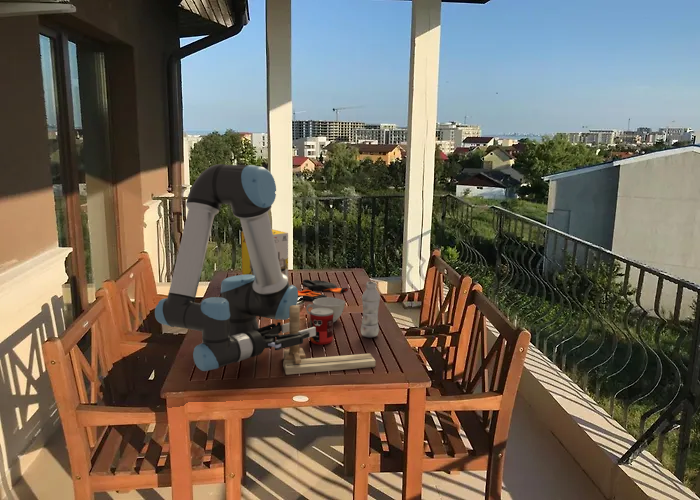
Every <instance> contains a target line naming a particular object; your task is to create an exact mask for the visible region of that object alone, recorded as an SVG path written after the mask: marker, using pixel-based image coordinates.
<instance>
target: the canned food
mask: <svg viewBox="0 0 700 500" xmlns="http://www.w3.org/2000/svg"><path fill="white" fill-rule="evenodd" d="M309 312H310V314H309V315H310V316H309V328H312V327H316V336H312V337H309V339H310V342H311V343H312V344H314V345H320V346H321V345H322V346H323V345H329V344H331V343H332V342H333V340H334V337H333V336H334V322H333V310H331V309H328V308H315V309H313V308H312V309H311V310H310V311H309Z"/></svg>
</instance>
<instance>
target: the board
mask: <svg viewBox="0 0 700 500" xmlns="http://www.w3.org/2000/svg"><path fill="white" fill-rule="evenodd" d="M282 363H283V369H284V373H285V375H295V374H296V375H298V374H308V373H318V372H321V373H322V372H333V371H341V370H354V369H366V368H374V367H376V363H377V361H376V360H375V358H374V357H373V355H372V354H371V353H361V354H360V353H357V354H349V355H347V354H345V355H334V356H322V357H321V356H320V357H310V358H305V359H301V363H299V364H296V362H295V360H283V361H282Z"/></svg>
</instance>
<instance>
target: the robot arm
mask: <svg viewBox="0 0 700 500" xmlns="http://www.w3.org/2000/svg"><path fill="white" fill-rule="evenodd" d="M276 192H277V185H276V181H275V178H274V176H273V174H272V172H271V171H269V170H268V168H265V167H264V166H259V165H254V164H248V165H246V164H245V165H243V164H240V165H239V164H225V163H223V164H221V163H219V164H218V163H217V164H214V165H210V166H209V167H207V168H206V169H204V171H202V172H201V173H200V174H199V176H198V177H197V178H196V180H195V181H194V182H193V185H192V186H191V188H190V190H189V193H188V195H187V199H186V203H185V206H186V208H187V215H186V217H185V218H186V219H185V223H184V228H183V231H182V236H181V241H180V242H179V243H180V244H179V249H178V252H177V258H176V260H175V266H174V270H173V274H172V278H171V282H170V285H169V290H168V294H167V297H166V298H161V299H160V300H159V301H158V303H157V304H156V306H155V308H154V317H155V319H156V321H157V322H158V323H159V324H161V325H165V326H168V327H170V328H174V327H175V328H180V329H188V330H192V331H197V332H201V335H202V337H201V339H202V340H201V341H202V342H201V343H199V344H197V345H195V347H194V348H193V352H192V356H193V362H194V364H195V366H196V367H197V368H198V369H199V370H200V371H202V372H207V371H211V370H217V369H219V368H222V367H224V366H228V365H230V364H235V363H240V361H244V360H247V359H249V358H254V357H257V356H260V355H261V354H262V353H263V352H264V350H265V349H270V348H274V350H275V351H280V350H282V349H287V348H289V347H290V346H295V345H299V344H300V345H303V344H304V340H305V339H310V337H312V336H316V327H312V328H310V327H309V328H305V329H302V330H300V331H298V333H293V334H289V322H286V323H282V322H280V321H287V320H289V307H290V306H292V305H297V304H298V300H299V299H298V287H296V286H295V285H293V284H291V285H290V283H289V277H288V278H287V276H286V275H285V274H283V273H281V268H280V264H279V259H278V255H277V250H276V246H275V241H274V237H273V233H272V229H273V228H272V224H271V219H270V216H269V212H270V210H272V206H273V205H274V202H275V200H276V197H277V194H276ZM222 205H230V208H231V210H232V211H231V212H232V214H233V216H234V217H236V218H237V219H239V221H240V225H241V229H242V231H243V233H244V237H245V241H246V245H247V249H248V252H249V256H250V260H251V264H252V268H253V272H254V275H250V274H247V275H242V274H239V275H232V276H229V277H225V278H224V279H223V280H222V281H221V284H220V291H219V292H220V297H219V296H217V297H215V296H211V297H207V298H205V299H202V300H201V302H200V303H199V302H195V301H196V297H197V294H198V288H199V284H200V278H201V277H202V271H203V267H204V263H205V258H206V254H207V249H208V247H209V246H208V245H209V240H210V237H211V232H212V228H213V223H214V218H215V216H216V215H217V214H219V212H220V210H221V209H220V208H221V206H222ZM297 306H298V305H297ZM257 317H259V318H264V319H265V318H266V319H273V320H280V321H278V322H276V323H271V324H268V325H266V326H263V327H259V323H258V321H257ZM285 333H286V334H285Z"/></svg>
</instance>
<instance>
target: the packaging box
mask: <svg viewBox="0 0 700 500" xmlns="http://www.w3.org/2000/svg"><path fill="white" fill-rule="evenodd" d="M272 233H273V237H274V241H275V246H276V250H277V255H278V259H279V264H280V268H281V273H283V274H285V275H286V276H287V278H288V279H289V233H288V232H286V231H281V230H276V229H273V228H272ZM247 274H250V275H254V272H253V268H252V264H251V260H250V256H249V252H248V249H247V245H246V241H245V237H244V233H243V230H242V231H241V275H247Z"/></svg>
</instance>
